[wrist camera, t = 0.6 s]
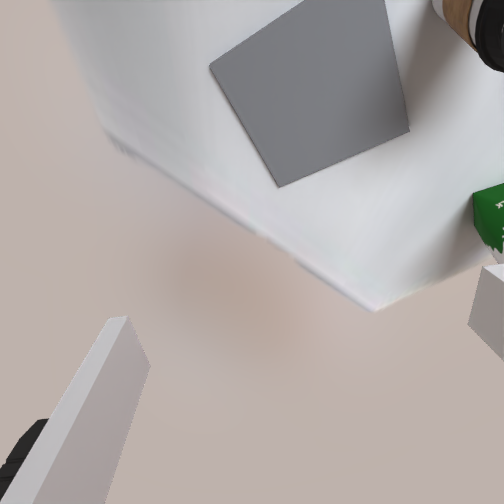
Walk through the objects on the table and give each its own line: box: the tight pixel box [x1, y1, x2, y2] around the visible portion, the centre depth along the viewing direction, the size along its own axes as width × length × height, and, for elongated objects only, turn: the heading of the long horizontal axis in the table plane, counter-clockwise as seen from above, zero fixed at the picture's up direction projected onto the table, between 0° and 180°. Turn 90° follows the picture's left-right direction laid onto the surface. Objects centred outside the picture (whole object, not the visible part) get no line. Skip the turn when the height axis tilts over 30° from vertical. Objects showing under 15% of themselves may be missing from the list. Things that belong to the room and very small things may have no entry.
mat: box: [209, 0, 410, 187], centre depth 36 cm, size 18×18×1 cm
